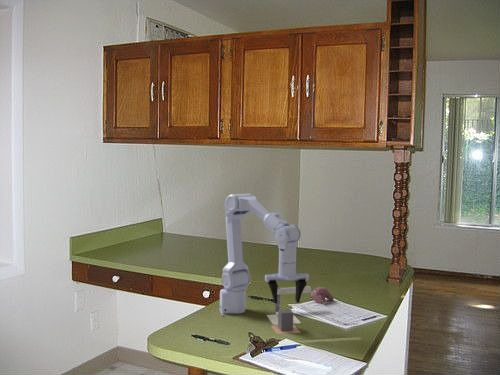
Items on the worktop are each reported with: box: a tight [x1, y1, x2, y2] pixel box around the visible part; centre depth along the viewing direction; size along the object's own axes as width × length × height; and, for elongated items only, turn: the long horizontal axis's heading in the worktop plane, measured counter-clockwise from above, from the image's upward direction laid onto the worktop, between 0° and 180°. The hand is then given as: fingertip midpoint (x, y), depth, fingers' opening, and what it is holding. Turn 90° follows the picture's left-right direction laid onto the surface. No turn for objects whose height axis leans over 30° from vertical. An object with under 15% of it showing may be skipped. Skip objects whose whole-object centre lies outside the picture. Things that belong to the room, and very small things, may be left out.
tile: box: [271, 324, 301, 335], centre depth 173 cm, size 8×8×1 cm
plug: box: [277, 308, 294, 331], centre depth 173 cm, size 4×4×6 cm
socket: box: [266, 295, 302, 326], centre depth 185 cm, size 10×14×7 cm
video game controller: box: [310, 286, 335, 305], centre depth 206 cm, size 10×5×7 cm, turn 142°
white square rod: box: [277, 285, 312, 296], centre depth 192 cm, size 2×14×2 cm, turn 108°
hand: (286, 302), depth 172 cm, fingers open, 7 cm apart
